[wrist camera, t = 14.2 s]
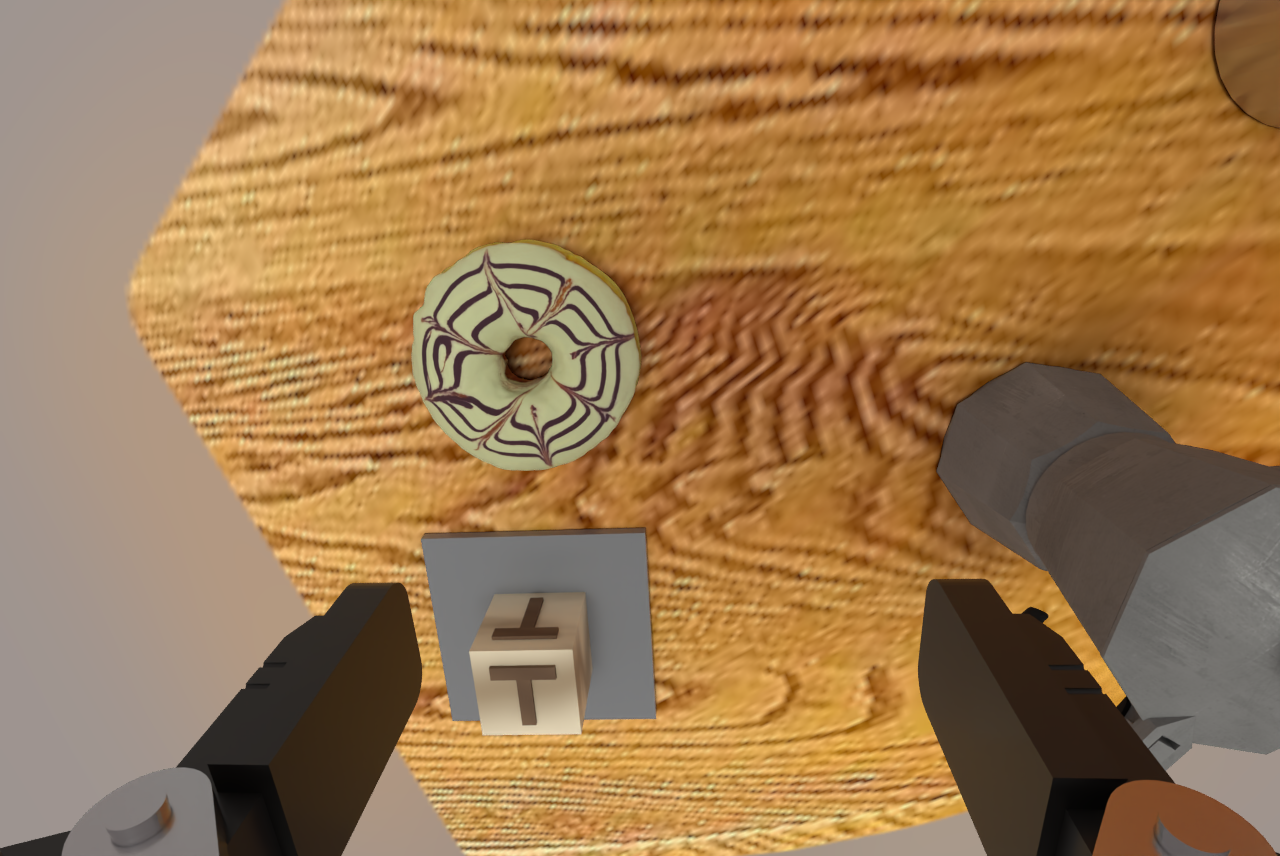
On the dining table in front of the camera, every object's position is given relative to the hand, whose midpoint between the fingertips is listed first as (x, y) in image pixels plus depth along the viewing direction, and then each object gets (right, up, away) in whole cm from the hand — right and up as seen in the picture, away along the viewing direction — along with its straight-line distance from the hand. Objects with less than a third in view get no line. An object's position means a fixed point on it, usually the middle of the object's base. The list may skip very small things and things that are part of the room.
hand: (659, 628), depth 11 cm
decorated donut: (-6, +7, +24) cm, 26 cm away
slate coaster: (-6, -8, +29) cm, 30 cm away
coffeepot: (+18, +1, +25) cm, 31 cm away
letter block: (-6, -8, +28) cm, 30 cm away
